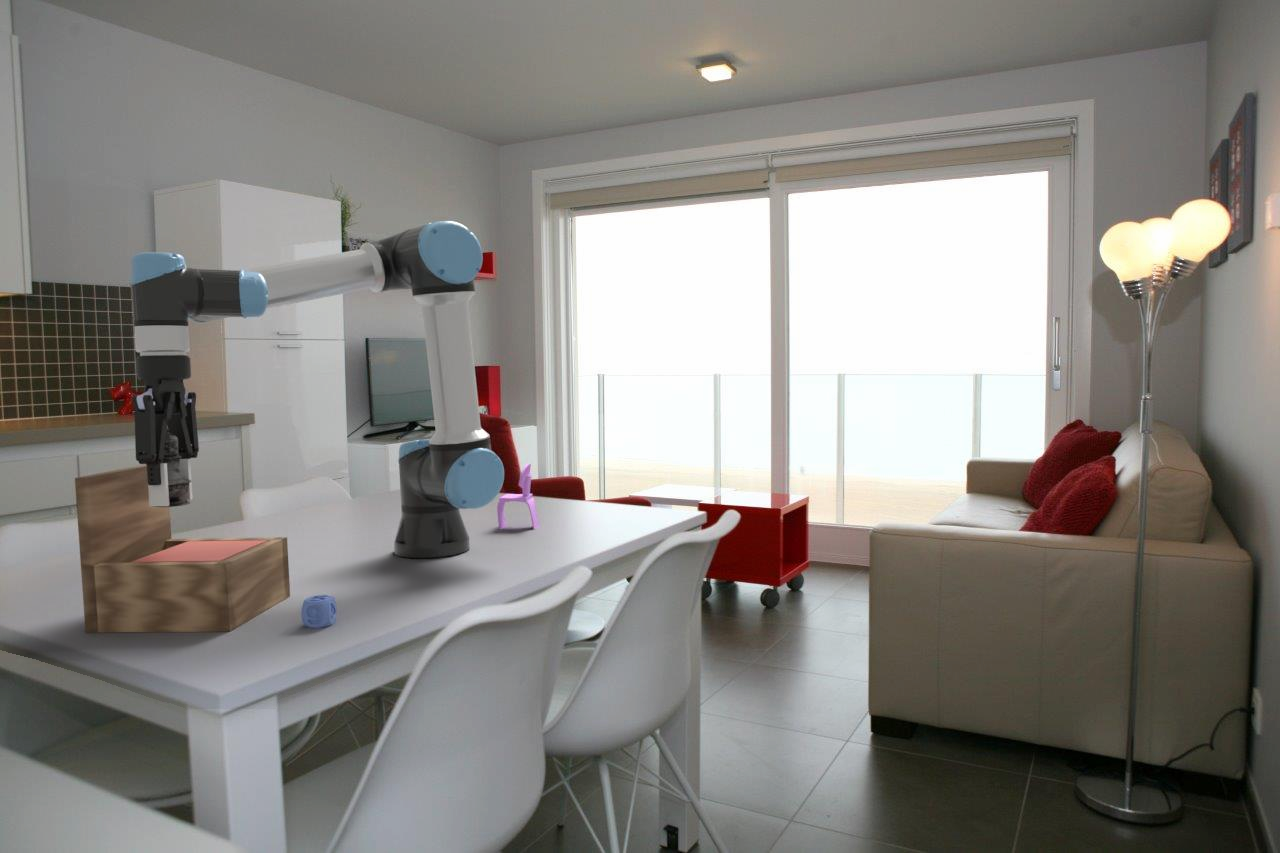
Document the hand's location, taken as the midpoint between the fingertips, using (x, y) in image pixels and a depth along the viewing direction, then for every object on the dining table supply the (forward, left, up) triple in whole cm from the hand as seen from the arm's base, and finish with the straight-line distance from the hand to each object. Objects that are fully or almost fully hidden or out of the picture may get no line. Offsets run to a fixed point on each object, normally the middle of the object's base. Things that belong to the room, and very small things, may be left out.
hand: (171, 502), depth 143 cm
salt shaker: (0, 0, -1) cm, 1 cm away
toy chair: (-41, -72, -18) cm, 84 cm away
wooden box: (-3, 0, -18) cm, 18 cm away
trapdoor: (-5, 0, -8) cm, 9 cm away
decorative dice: (-26, +6, -18) cm, 32 cm away
